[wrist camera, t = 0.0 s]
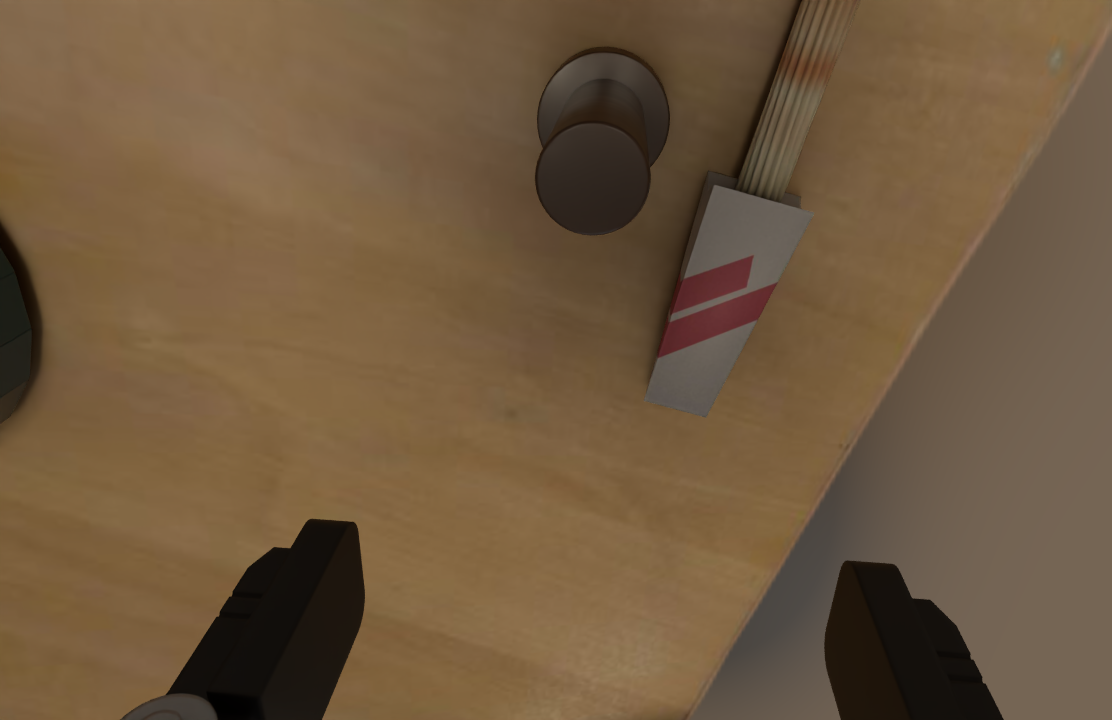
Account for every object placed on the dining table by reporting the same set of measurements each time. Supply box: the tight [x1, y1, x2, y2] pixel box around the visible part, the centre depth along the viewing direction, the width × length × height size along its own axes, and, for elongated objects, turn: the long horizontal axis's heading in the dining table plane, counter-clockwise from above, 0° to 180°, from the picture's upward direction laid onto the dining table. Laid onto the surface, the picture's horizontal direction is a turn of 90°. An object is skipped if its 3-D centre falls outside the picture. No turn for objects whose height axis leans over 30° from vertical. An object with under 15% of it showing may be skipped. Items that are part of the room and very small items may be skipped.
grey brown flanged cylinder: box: [535, 47, 670, 235], centre depth 25 cm, size 5×5×11 cm
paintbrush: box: [644, 0, 860, 417], centre depth 29 cm, size 4×3×20 cm
